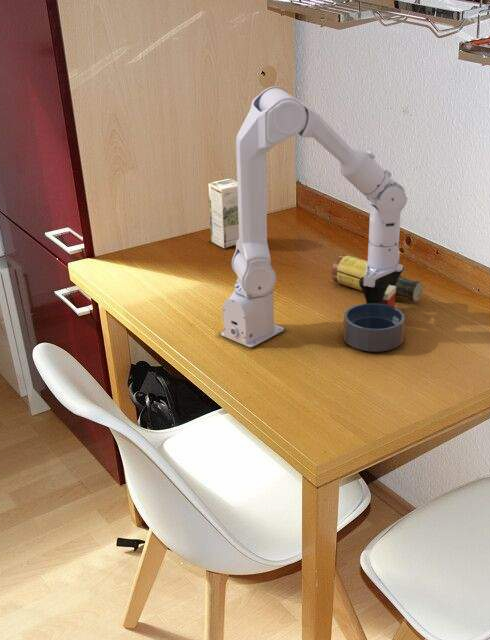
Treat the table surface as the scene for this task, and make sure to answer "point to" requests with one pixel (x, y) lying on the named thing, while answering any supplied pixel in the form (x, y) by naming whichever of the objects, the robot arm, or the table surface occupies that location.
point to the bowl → (373, 327)
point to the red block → (390, 296)
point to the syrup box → (224, 212)
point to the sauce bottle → (354, 269)
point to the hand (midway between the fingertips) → (380, 306)
